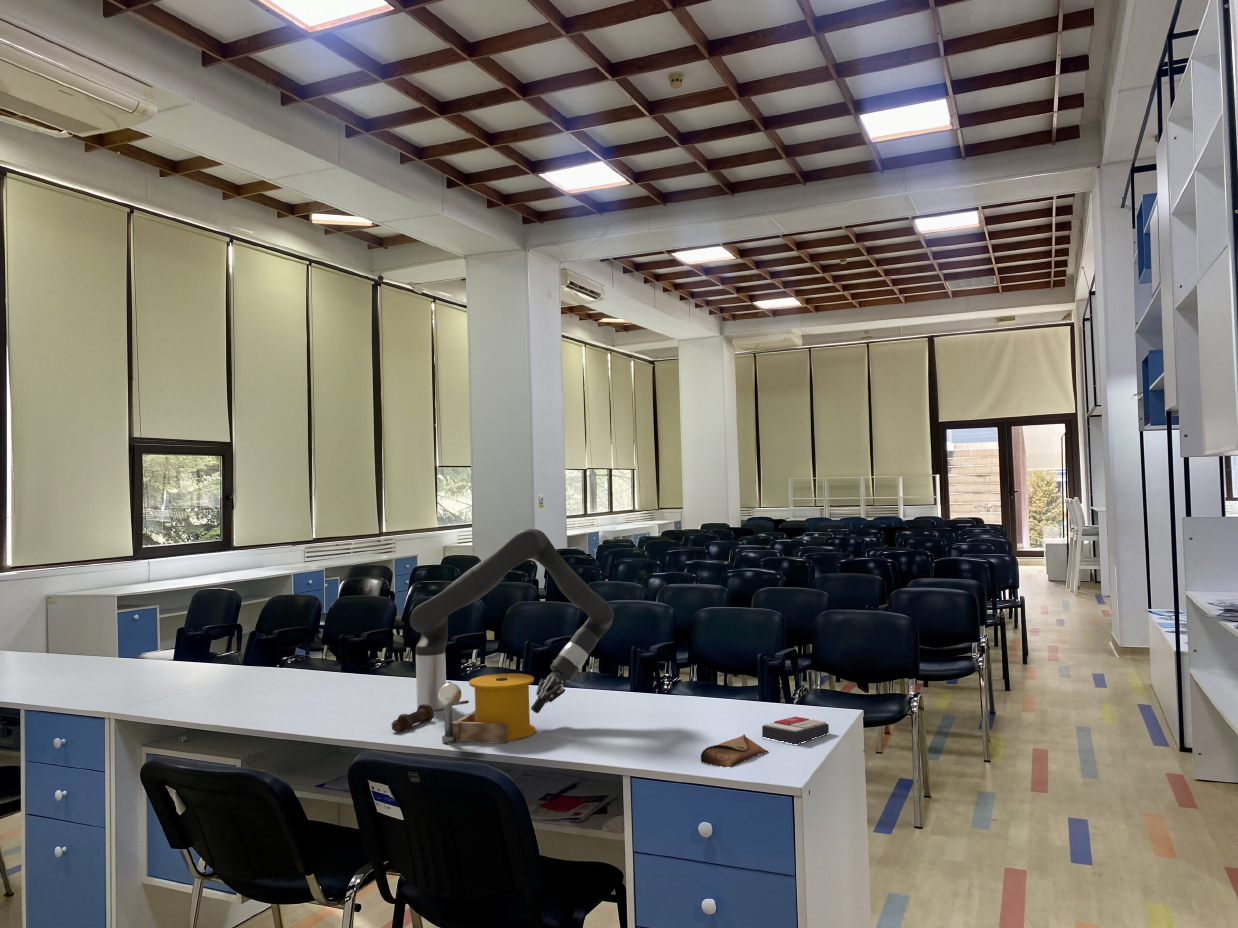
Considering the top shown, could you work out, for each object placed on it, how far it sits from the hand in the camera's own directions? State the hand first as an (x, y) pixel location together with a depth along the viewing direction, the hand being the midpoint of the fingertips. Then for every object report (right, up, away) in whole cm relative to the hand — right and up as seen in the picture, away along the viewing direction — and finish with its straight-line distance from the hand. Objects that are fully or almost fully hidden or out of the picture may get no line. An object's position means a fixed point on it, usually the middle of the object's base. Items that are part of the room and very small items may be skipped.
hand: (534, 711), depth 254 cm
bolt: (-36, -7, +6) cm, 37 cm away
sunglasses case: (+53, -2, -35) cm, 64 cm away
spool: (-8, -5, -5) cm, 11 cm away
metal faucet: (-20, -5, -12) cm, 24 cm away
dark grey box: (+71, -2, -18) cm, 73 cm away
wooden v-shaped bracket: (-16, -5, -9) cm, 19 cm away
